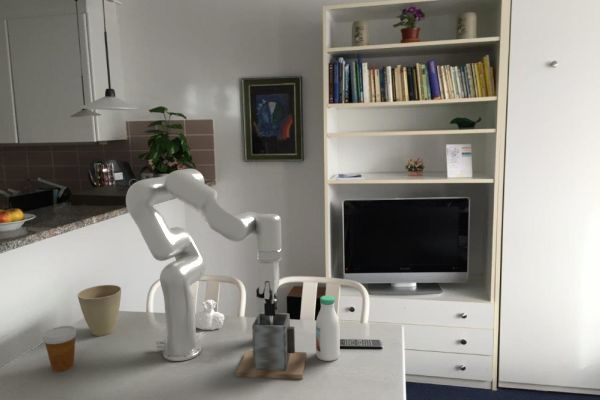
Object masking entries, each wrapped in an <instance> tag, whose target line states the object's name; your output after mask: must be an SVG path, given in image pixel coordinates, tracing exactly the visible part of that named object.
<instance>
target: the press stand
mask: <svg viewBox="0 0 600 400" xmlns="http://www.w3.org/2000/svg"><path fill="white" fill-rule="evenodd" d="M290 321H291V317H290V313H286V312H285V313H281V312H279V313H278V312H275V316H273V325H270V316H265V313H258V315H257V314H256V318H255V319H254V322H253V324H252V329H251V330H252V350H245V352H244V355H243V357H242V359H241V361H240V363H239V366H238V367H237V369H236V372H235V376H236V378H252V379H253V378H255V379H256V378H259V379H280V380H283V379H284V380H287V379H288V380H303V377H304V371H305V367H306V362H307V352H305V351H296V342H295V341H296V340H295V339H296V338H295V336H296V335H295V326H291V325H290V324H291V323H290Z"/></svg>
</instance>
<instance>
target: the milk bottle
mask: <svg viewBox="0 0 600 400" xmlns="http://www.w3.org/2000/svg"><path fill="white" fill-rule="evenodd" d="M319 300H320V301H319V302H320V310H319V312H318V315H317V316H316V321H315V352H316V353H315V355H316V357H317V358H318V359H319V360H321V361H326V362H331V361H335V360H337V359H339V357H340V356H341V354H340V352H341V348H340V347H341V346H340V345H341V344H340V342H341V341H340V340H341V339H340V338H341V337H340V334H341V332H340V318H339V317H338V314H337V312H336V309H335V297H334V296H333V295H322V296H320V298H319Z"/></svg>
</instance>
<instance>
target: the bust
mask: <svg viewBox="0 0 600 400" xmlns="http://www.w3.org/2000/svg"><path fill="white" fill-rule="evenodd" d="M217 303H218V302H216V301H215V300H214V299H207V300H205V301H203V302H201V305H202V306H203V309H204V311H200V312H198V313H195V326H196V328H197V329H200V330H202V331H204V330H206V331H210V330H211V331H214V330H218V329H221V328H222V327H223V324H224V322H225V315H224V314H223V313H220V312H219V311H215V310H214V308H216V305H217Z"/></svg>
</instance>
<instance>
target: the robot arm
mask: <svg viewBox="0 0 600 400" xmlns="http://www.w3.org/2000/svg"><path fill="white" fill-rule="evenodd" d="M218 196H219V195H218V191H217V190H215V189H214V188H212V187H211V186H209V185H207V184H206V183H205V177H204V176H203V174H202V173H201V172H200V171H199V170H198V169H195V168H186V169H177V170H174V171H172V172H169V174H168V175H164V176H158V177H152V178H144V179H141V180H138V181H136V182H134V183H133V184H131V185H130V187H129V188H128V190H127V192H126V196H125V206H126V208H127V211H128V213H129V216H130V217H131V219H132V220H133V221H134V223H135V224H136V226H137V228H138V230H139V232H140V234H141V236H142V239H143V241H144V243H145V244H146V246H147V247H148V250H149V252H150V254H151V255H152V257H153V259H155V260H156V261H159V262H164V261H167V260H170V259H172V258H175V260H174V261H172V262H169V263H168V264H166V265H165V266H164V268H163V269H162V270H161V271H160V274H159V282H160V286H161V290H162V293H163V294H162V295H163V301H164V315H165V329H166V330H165V331H166V338H165V339H161V338H157V339H156V341H155V345H156V348H157V349H158V348H159V349H161V348H163V350H162V356H163V358H164V359H166V360H168V361H171V362H183V361H189V360H191V359H193V358H196V357H197V356H199V355H200V354H201V353H202V345H201V344H200V343H198V342H197V333H196V332H197V331H196V326H195V314H196V313H195V311H196V309H195V299H194V295H193V293H192V291H191V287H190V286H192V285H194V283H196V282H198V281H200V280H201V279H202V278H203V277H204V276H205V274H206V264H205V261H204V259H203V257H202V254H201V252H200V251H199V249H198V247H197V245H196V242H195V240H194V239H193V237H192V235H191V234H190V233H189V231H188V230H186V229H184V228H183V227H179V226H174V227H170V228H169V225H168V224H167V223H166V220H165V218H164V216H163V215H162V214H161V212H160V211H159V210H157V209H156V207H154V205H155V204H156V205H157V204H159V203H164V202H168V201H172V200H176V199H178V200H179V201H180V202H182V203H184V204H185V205H187V206H188V207H190V208H192V209H193V210H195V211H196V212H197V213H199V214H200V215H201V217H202V218H203V220H204V222H205V223H206V224H207V226H208V227H209V228H210V229H211V230H212V231H214V232H215V233H216V234H219V235H220V236H221V237H223V238H225V239H227V240H228V241H232V242H237V243H239V242H243V241H245V240H246V239H248V238H251V237H253V236H256V256H257V257H256V260H257V262H258V263H259V269H258V272H259V273H258V287H259V293H260V294H263V292H264V312H265V316H275V313H276V311H277V310H278V308H277V309H276V310H275V303H274V297H277V298H278V288H279V286H280V261H282V259H283V253H282V252H283V249H282V219H281V216H280V215H279V214H276V213H259V212H258V213H257V212H254V211H246V212H242V213H239V214H237V215H234V214H232V213H231V212H229V211H227V210H226V209H224V208H223V207H222V206H221V205H220V204H219V202H218ZM271 297H272V298H271ZM278 302H279V301H277V303H278Z"/></svg>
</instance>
